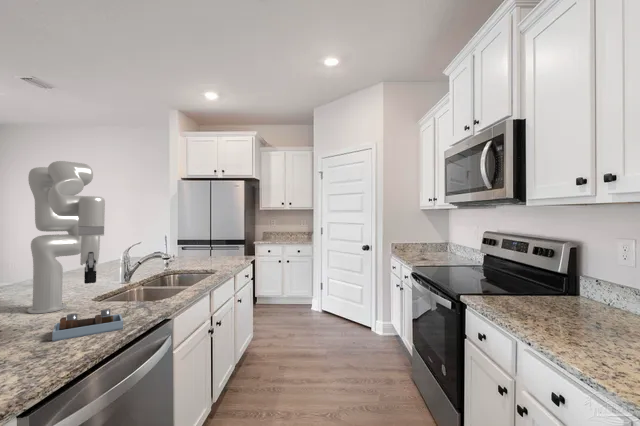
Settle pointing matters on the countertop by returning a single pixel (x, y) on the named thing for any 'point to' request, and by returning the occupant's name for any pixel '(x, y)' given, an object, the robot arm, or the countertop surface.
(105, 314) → the peg
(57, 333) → the tray
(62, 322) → the bolt
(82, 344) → the countertop surface
